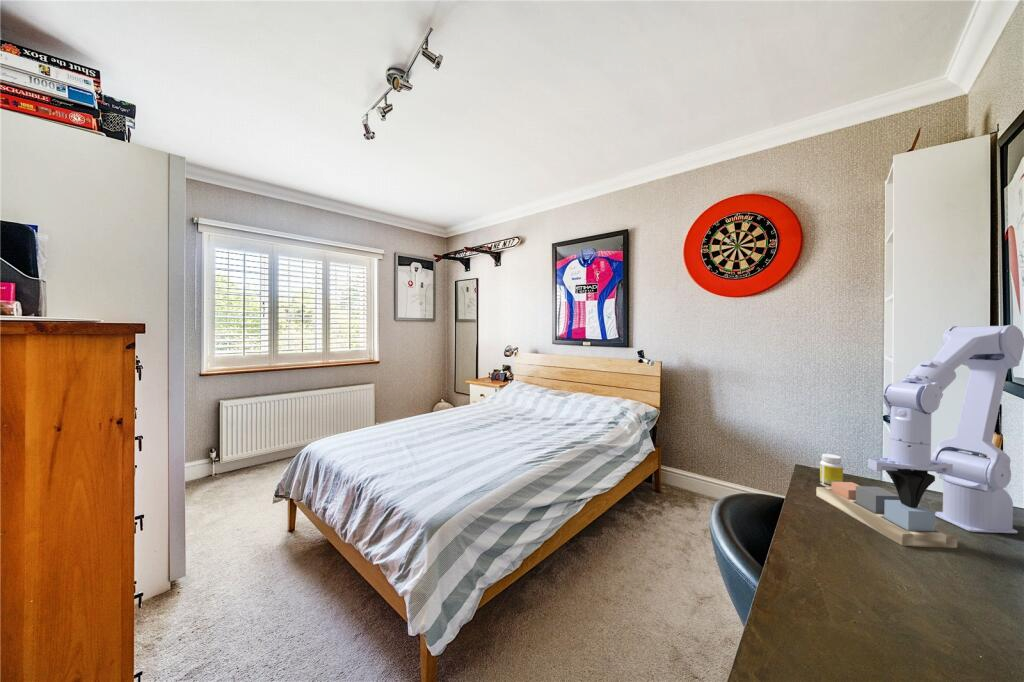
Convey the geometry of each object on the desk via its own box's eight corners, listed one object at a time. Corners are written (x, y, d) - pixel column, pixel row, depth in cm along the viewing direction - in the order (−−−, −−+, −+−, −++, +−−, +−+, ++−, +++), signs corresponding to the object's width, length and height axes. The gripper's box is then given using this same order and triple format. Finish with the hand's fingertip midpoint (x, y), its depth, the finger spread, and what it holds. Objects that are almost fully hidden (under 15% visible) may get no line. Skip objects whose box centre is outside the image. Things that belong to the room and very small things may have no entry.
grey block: (878, 503, 84) (878, 486, 84) (899, 514, 79) (900, 496, 79) (855, 502, 84) (855, 486, 84) (875, 513, 79) (875, 495, 79)
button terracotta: (852, 497, 91) (852, 482, 91) (870, 507, 86) (870, 490, 86) (831, 497, 91) (831, 481, 91) (848, 506, 86) (848, 490, 86)
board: (857, 497, 92) (857, 488, 92) (957, 547, 70) (957, 535, 70) (816, 496, 93) (816, 487, 93) (902, 545, 71) (902, 533, 71)
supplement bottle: (847, 489, 97) (848, 458, 97) (829, 489, 97) (830, 458, 97) (832, 482, 102) (832, 453, 102) (815, 482, 102) (815, 452, 102)
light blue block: (909, 518, 77) (909, 500, 77) (934, 531, 72) (935, 511, 72) (884, 518, 77) (884, 499, 77) (908, 530, 72) (908, 511, 72)
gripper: (926, 435, 78) (925, 497, 78) (855, 434, 79) (854, 495, 79) (965, 445, 71) (964, 513, 71) (886, 444, 72) (885, 511, 72)
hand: (908, 505), depth 75 cm, fingers closed
